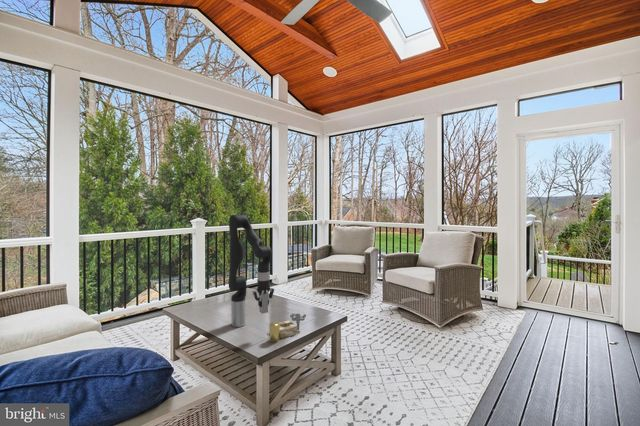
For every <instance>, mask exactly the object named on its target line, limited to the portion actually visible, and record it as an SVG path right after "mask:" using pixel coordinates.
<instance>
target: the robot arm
mask: <svg viewBox="0 0 640 426" xmlns="http://www.w3.org/2000/svg"><path fill="white" fill-rule="evenodd" d="M228 226H229V227H228V229H229V272H228V273H229V274H228V289H229V290H230V291H231V292H235V293H234V294H232V295H231V299H230V300H231V301H230V302H231V304H230V305H231V306H230V307H231V310H230V311H231V315H230V316H231V319H230V320H231V327H233V328H240V327H244V326H245V325H246V297H247V279H246V277H245V276H244V275H238V270H239V268H240V266H241V264H242V262H243V260H244V258H245V246H244V244H243V243H242V241H241V240H240V238H239V234H238V229H244V231H245V235H246V237H245V238H246V241H247V243H248V244H249V245H250V247H251V248H252V251H253V253H254V256H255V258H257V259H259V260H260V259H261V261H259V262H258V263H257V288H256V290H254V291H252V294H253V297H254V299H255V301H257V302H258V303H257V304H258V307H261V298H262V294H264V293H268V306H269V305H270V300H271V299H272V298H273V296H274V292H275V288H273V287H270V286H271V285H270V283H271V282H270V281H271V279H270V278H271V275H270V263H271V259H272V256H273V250H272V248H271V247H270V246H269V245H267V246H266V245H265V246H263V241H262V239H261V238H260V237H259V235H257V233H256V232H255V230H254V228H253V227H252V224H251V223H250V220H249V219H248V218H247V216H246V215H245V214H244V213H243V214H241V213H240V214H238V213H237V214H231V215H230V216H229V219H228ZM260 295H261V296H260Z"/></svg>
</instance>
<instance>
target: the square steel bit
mask: <svg viewBox="0 0 640 426" xmlns="http://www.w3.org/2000/svg"><path fill="white" fill-rule="evenodd" d="M268 294H269V292H268V293H264V294H262V298H261V307H259V306H258V307H259V313H260V314H266V313H269V305H268ZM260 296H261V295H260Z"/></svg>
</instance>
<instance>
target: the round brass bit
mask: <svg viewBox="0 0 640 426" xmlns="http://www.w3.org/2000/svg"><path fill="white" fill-rule="evenodd" d="M280 341H281V339H280V324H279V322H277V321H274V322H271V323H269V342H270V343H278V342H280Z"/></svg>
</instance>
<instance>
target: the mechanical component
mask: <svg viewBox="0 0 640 426" xmlns="http://www.w3.org/2000/svg"><path fill="white" fill-rule="evenodd" d="M289 317H290V318H291V322H296V326H297V331H298V330H300V323H301V321H305V319H306V318H307V314H305V313H303V315H301V313H291V314H290V316H289Z"/></svg>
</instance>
